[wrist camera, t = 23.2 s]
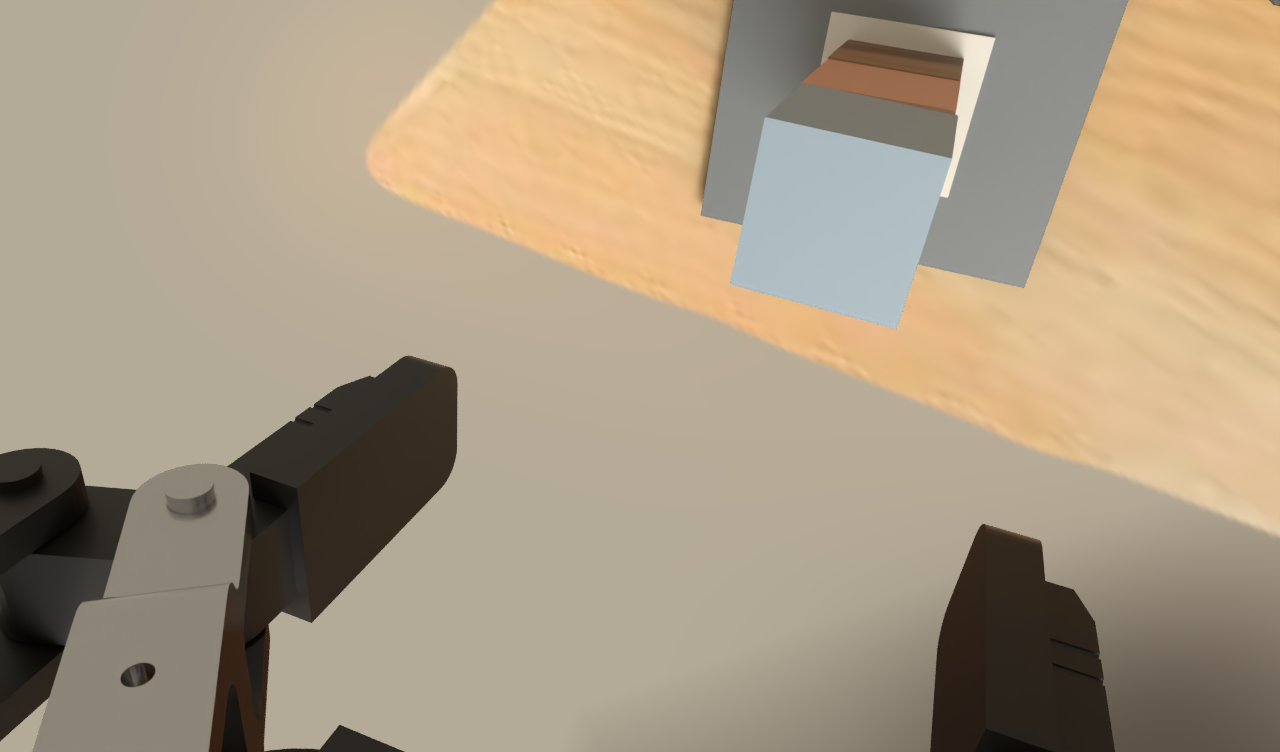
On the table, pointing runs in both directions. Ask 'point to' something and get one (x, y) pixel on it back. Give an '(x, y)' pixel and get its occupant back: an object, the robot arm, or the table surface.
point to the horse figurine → (1275, 2)
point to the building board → (987, 113)
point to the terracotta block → (888, 85)
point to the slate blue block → (843, 201)
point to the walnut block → (899, 59)
